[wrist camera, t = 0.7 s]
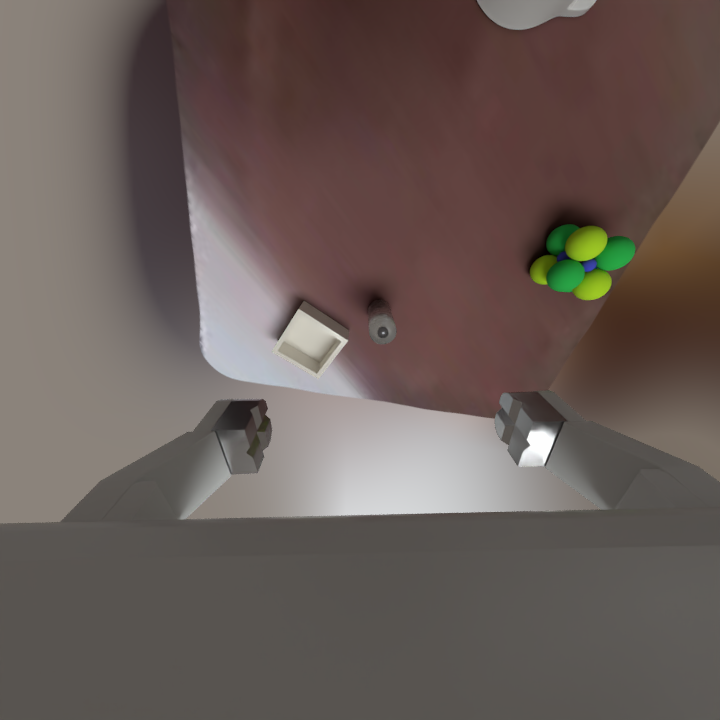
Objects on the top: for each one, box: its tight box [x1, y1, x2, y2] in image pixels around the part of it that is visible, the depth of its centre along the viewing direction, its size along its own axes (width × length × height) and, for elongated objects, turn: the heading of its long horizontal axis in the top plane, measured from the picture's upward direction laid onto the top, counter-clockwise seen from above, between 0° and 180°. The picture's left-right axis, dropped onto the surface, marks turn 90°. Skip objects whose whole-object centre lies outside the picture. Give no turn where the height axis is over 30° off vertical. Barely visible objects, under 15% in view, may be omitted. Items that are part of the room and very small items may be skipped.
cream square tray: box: [272, 301, 349, 379], centre depth 49 cm, size 10×10×4 cm
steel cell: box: [368, 300, 396, 344], centre depth 44 cm, size 4×4×10 cm
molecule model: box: [530, 224, 635, 300], centre depth 40 cm, size 9×9×9 cm
